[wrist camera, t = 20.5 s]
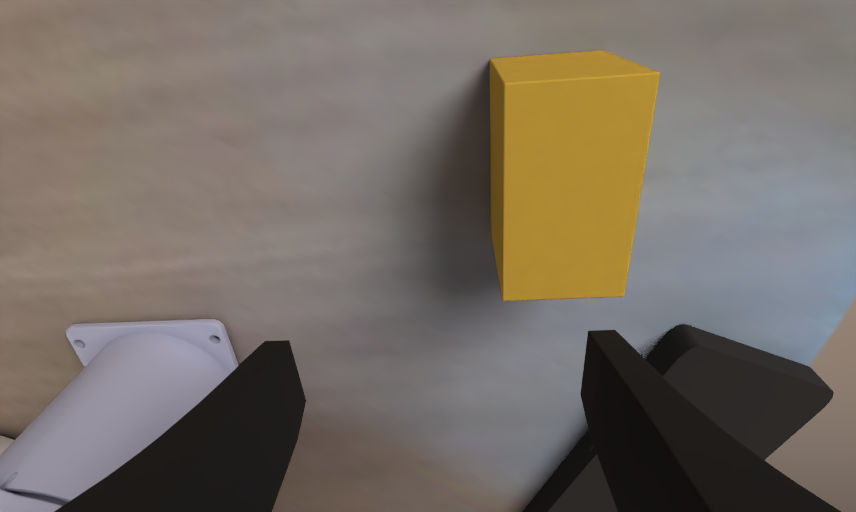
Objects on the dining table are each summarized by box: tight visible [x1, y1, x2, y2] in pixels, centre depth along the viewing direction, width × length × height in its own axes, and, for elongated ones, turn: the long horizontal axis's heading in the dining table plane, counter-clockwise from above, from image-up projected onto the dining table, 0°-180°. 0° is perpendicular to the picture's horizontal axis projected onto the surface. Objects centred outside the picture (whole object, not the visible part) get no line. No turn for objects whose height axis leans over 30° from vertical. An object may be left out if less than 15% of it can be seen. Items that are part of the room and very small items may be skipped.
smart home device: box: [524, 324, 833, 512], centre depth 26 cm, size 8×2×20 cm
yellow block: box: [490, 50, 660, 301], centre depth 16 cm, size 7×4×5 cm, turn 4°
